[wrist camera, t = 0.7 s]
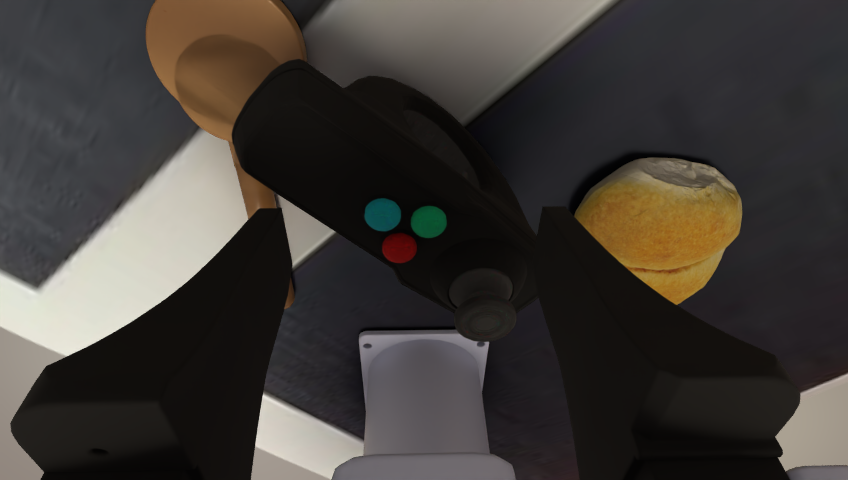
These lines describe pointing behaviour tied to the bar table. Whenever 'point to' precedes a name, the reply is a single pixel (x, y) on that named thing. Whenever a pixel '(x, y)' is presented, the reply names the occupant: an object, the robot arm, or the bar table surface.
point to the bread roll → (664, 221)
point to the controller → (395, 188)
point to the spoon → (222, 65)
